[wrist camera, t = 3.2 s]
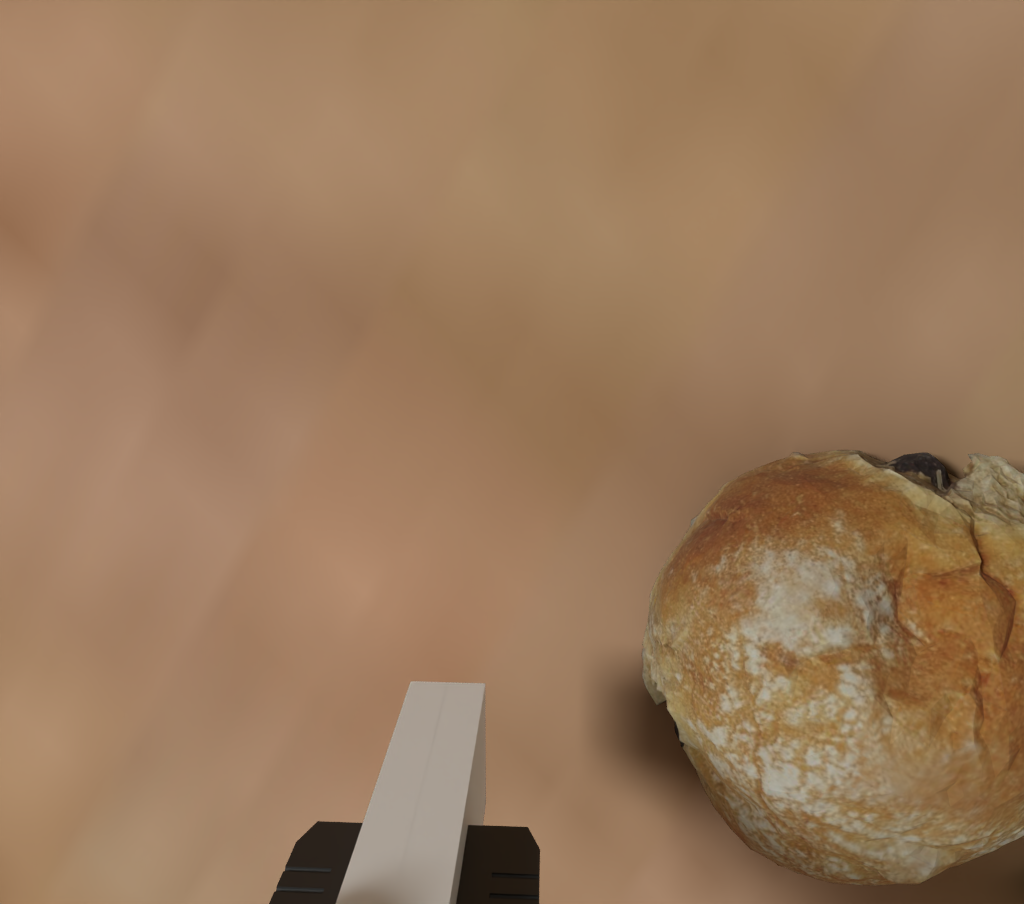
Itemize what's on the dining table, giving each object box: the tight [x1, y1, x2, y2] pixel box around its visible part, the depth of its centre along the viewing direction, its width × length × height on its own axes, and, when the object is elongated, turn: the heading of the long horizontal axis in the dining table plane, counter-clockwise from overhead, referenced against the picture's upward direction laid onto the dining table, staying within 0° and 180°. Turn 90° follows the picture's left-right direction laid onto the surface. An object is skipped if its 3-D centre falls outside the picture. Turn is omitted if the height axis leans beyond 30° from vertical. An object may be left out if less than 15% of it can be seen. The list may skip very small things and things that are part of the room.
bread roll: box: [642, 450, 1024, 886], centre depth 19 cm, size 10×10×8 cm
